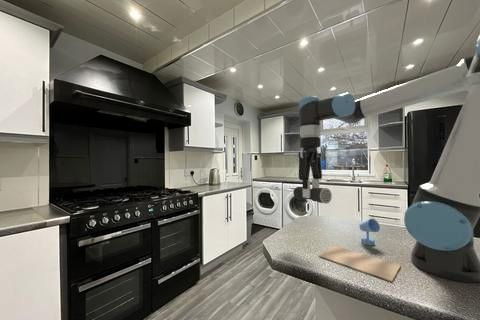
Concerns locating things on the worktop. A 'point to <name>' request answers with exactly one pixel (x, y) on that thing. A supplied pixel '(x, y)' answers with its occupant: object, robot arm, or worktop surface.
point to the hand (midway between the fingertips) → (311, 196)
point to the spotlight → (369, 230)
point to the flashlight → (314, 194)
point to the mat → (362, 263)
